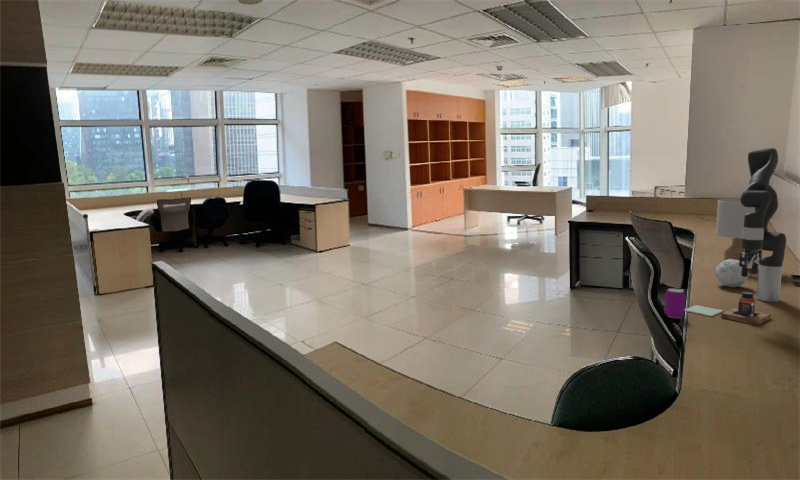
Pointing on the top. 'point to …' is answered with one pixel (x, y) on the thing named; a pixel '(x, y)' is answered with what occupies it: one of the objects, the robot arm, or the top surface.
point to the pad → (703, 310)
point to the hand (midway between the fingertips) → (749, 275)
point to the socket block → (756, 320)
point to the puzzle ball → (730, 273)
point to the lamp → (732, 225)
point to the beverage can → (674, 303)
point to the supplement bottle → (746, 304)
